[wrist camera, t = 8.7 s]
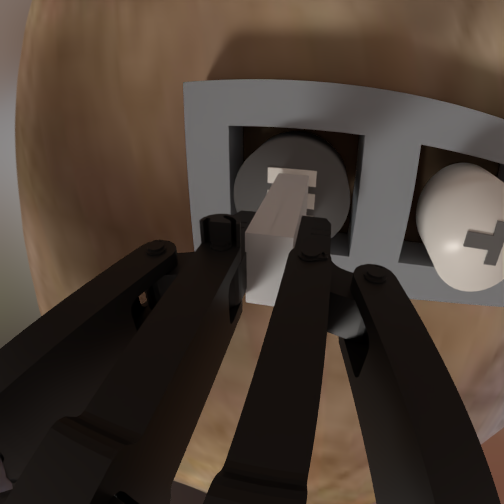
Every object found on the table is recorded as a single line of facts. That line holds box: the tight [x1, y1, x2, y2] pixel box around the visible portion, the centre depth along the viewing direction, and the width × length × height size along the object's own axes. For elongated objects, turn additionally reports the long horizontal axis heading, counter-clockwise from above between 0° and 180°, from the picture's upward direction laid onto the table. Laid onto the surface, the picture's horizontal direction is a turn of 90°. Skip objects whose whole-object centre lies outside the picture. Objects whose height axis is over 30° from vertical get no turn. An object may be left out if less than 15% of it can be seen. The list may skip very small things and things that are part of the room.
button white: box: [416, 163, 504, 292], centre depth 14 cm, size 6×6×4 cm
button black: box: [234, 131, 350, 238], centre depth 17 cm, size 6×6×4 cm
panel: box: [183, 79, 504, 307], centre depth 16 cm, size 32×12×3 cm, turn 90°
